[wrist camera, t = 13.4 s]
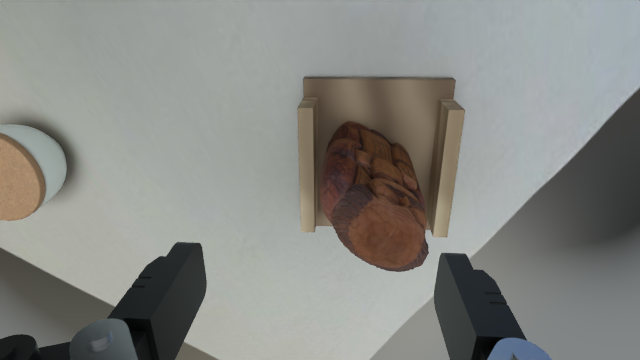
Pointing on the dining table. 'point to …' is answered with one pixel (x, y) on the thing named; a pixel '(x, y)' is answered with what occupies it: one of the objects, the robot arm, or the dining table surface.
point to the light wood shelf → (394, 124)
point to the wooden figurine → (374, 198)
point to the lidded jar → (28, 170)
